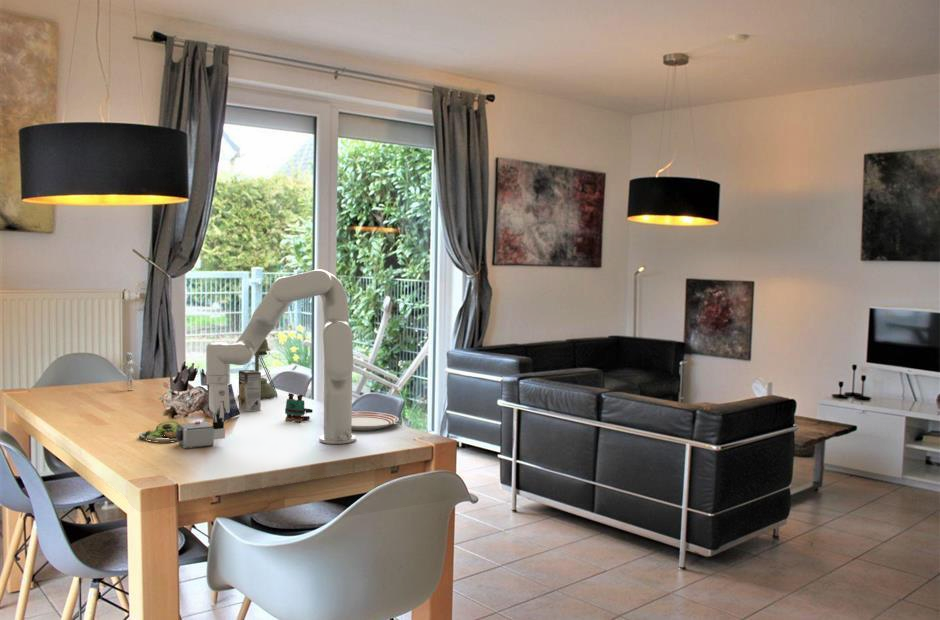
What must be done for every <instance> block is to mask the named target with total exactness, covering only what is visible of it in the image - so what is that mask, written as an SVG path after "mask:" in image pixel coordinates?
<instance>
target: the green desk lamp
mask: <svg viewBox="0 0 940 620" xmlns="http://www.w3.org/2000/svg"><path fill="white" fill-rule="evenodd" d="M266 338H267V337H266ZM266 338H265V340H264V341H263V343H262V344H261V346H260V347H259V349H258V350H257V352H256V353H255V355H254V356H253V357H254V362H251V364H249V365H248V367H249V366H251V365H253V364H254V367H255V368H254V370H255V371H258V372H260V371H259V370H260V367H262V368H263V369H264V371H265V374H264V375H261V401H263V400H264V401H265V400H271V398H272V399H274V397H275V398H277V397H278V393H277V390H276V387H275V384H274V382H273V379H272V377H271V376H270V370H269V369H268V368H267V365H266V363H265V361H264V359H265V358H267V357H269V356H270V355H271V353H270V351H271V349H270V348H269V345H268V344H269V343H268V340H267V339H266ZM268 353H269V354H268ZM266 355H267V356H266ZM263 356H266V357H263ZM259 361H260V362H259ZM260 363H261V365H260ZM265 376H266V377H267V378H265ZM268 381H269V382H268ZM237 398H238V399H239V394H238V395H237Z"/></svg>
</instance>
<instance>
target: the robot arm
mask: <svg viewBox="0 0 940 620" xmlns="http://www.w3.org/2000/svg"><path fill="white" fill-rule="evenodd" d="M319 296H320V299H321V301H322V311H323V329H322V338H323V358H324V360H323V373H324V374H323V376H324V377H323V378H324V381H323V382H324V383H323V385H324V386H323V401H324V402H323V435H321V436H319V439H318V440H319V442H321V443H324V444H330V445H342V444H343V445H345V444H350V443H353V442H356V440H357V436H356V435H355V434H353V432H352V431H353V430H352V412H353V411H352V410H353V370H354V350H353V349H354V346H353V333H352V332H353V331H352V329H351V326H350V321H349V320H350V319H349V318H350V317H349V304H348V296H347V292H346V289H345V287H344V285H343V283H342V281H340V280H339V278H337V277H336V276H335V275H334V274H332V273H331V272H328V271H327V270H324V269H320V268H317V269H314V270H310V271H306V272H301V273H297V274H294V275H293V274H291V275H288V276H281V277H278V278H277V279H275V280H274V281H273V282H272V285H271V287H270V288H269V290H267V293H266V294H265V295H264V297H263V299H262V300H261V302H260V303H259V304H258V306H257V308H256V309H255V310H254V311H253V314H252V316H251V318H250V321H249V323H248V324H247V326H246V327H245V329H244V330H243V331H242V333H241V335H240V336H239V338H238V339H237V340H236V342H235V343H230V344H229V343H228V342H223V341H220V342H217V341H216V342H210V343H208V344H207V345H206V350H205V354H206V355H205V356H206V375H205V377H206V383H205V384H206V385H208V407H209V408H208V409H209V411H210V412H211V413H212V421H213V422H212V426H213V428H214V429H222V428H225V427H224V425H225V424H224V422H225V421H224V420H225V414H229V413H230V412H231V411H230V409H231V407H230V392H229V384H230V383H231V365H235V366H244V365H248V364H249V363H250V362H251V361H252V359H253V358H254V357H255V356H254V355H255V353H256V352H257V350H258V349H259V347H260V346H261V344H262V343H263V341H264V340H265V338H267V337H268V335H269V334H270V333H271V332H272V331H273V330H274V329H275V327H276V326H277V325H278V324H279V322H280V320H281V319H282V317H283V316H284V315H285V313H286V311H287V310H288V309H289V307H290V306H291V304H292V303H293V302H296V301H301V300H304V299H309V298H313V297H319Z"/></svg>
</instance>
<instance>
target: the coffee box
mask: <svg viewBox="0 0 940 620" xmlns="http://www.w3.org/2000/svg"><path fill="white" fill-rule="evenodd" d="M261 378H262V372H261V371H259V372H258V371H255V369H242V370H238V395H239V398H238V409H240V410H242V411H244V412H256V411H257V412H258V411H261V409H262V408H261V404H262V403H261V402H262V400H261Z"/></svg>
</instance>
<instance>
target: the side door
mask: <svg viewBox="0 0 940 620" xmlns="http://www.w3.org/2000/svg"><path fill="white" fill-rule="evenodd" d="M225 438H226V428H225V427H224V428H222V429H214V428H206V429H195V430H187V429H184V447H183V449H185V448H186V449H188V448H187V447H193V446H203V445H213V446H214V444H215V440H220V439H221V440H222V439H225Z"/></svg>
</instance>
